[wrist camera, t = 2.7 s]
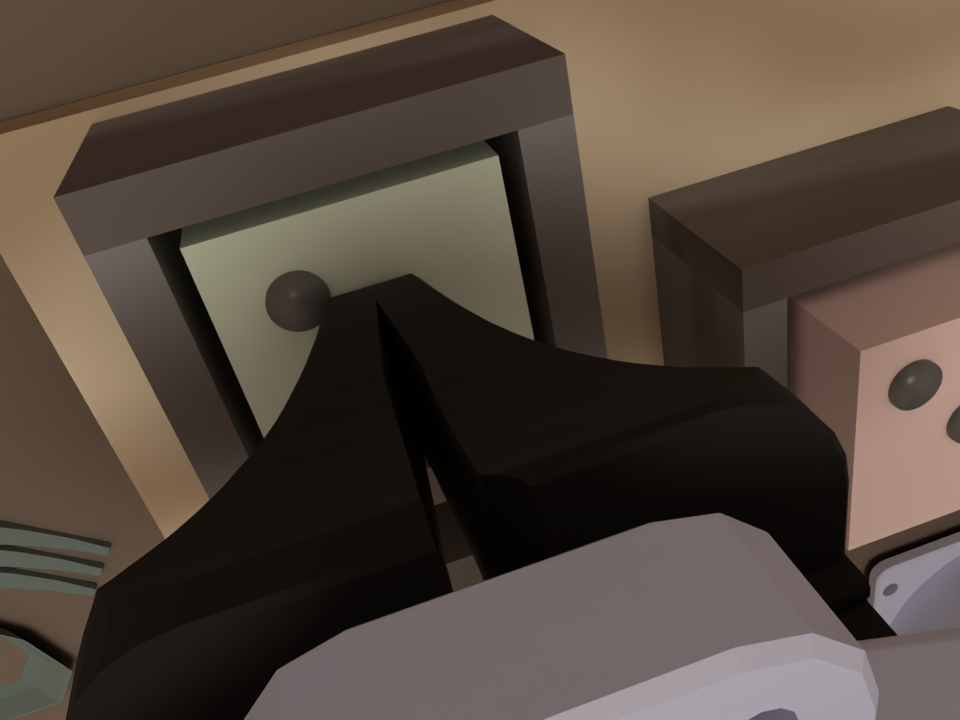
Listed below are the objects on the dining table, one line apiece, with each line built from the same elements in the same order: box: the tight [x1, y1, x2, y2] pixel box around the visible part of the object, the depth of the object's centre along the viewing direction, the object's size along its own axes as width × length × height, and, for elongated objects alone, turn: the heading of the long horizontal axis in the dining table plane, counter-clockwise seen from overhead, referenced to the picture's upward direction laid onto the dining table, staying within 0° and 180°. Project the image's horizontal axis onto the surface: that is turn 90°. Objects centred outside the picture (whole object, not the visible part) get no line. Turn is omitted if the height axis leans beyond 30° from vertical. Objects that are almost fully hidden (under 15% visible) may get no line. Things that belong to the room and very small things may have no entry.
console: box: [0, 0, 960, 592], centre depth 17 cm, size 15×19×4 cm
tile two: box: [180, 140, 534, 437], centre depth 13 cm, size 4×4×3 cm
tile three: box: [787, 242, 960, 551], centre depth 15 cm, size 4×4×3 cm
